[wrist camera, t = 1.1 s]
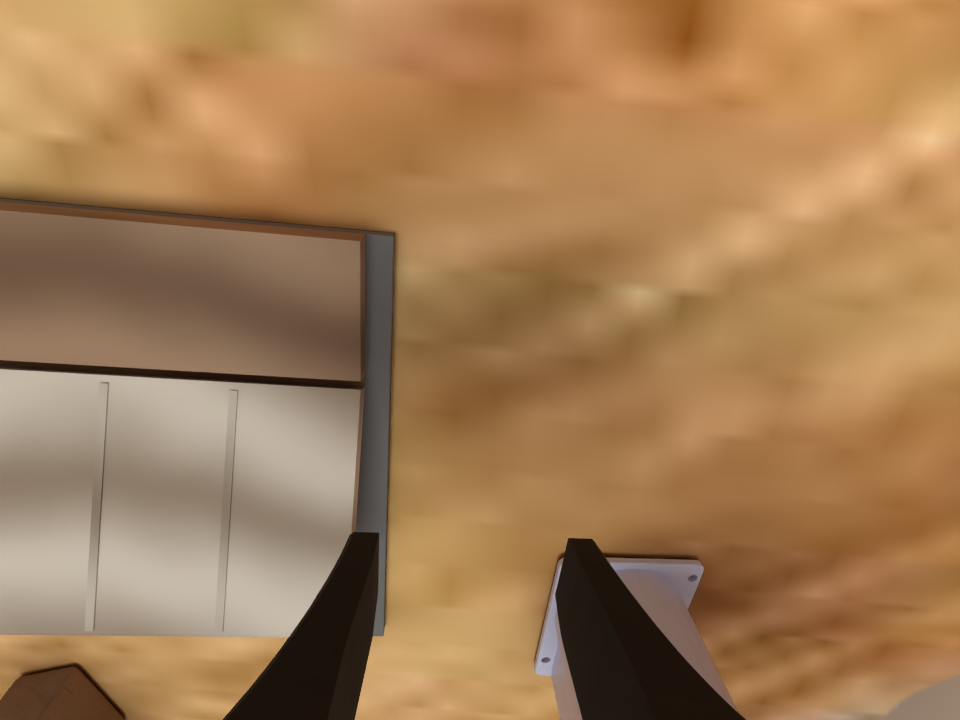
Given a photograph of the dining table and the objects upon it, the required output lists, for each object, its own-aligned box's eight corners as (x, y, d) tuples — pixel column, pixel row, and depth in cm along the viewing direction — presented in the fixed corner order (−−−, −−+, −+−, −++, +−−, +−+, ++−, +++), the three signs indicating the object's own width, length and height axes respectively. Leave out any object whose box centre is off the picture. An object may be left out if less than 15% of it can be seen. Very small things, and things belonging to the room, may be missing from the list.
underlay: (384, 626, 28) (383, 636, 27) (80, 622, 26) (73, 633, 26) (394, 233, 18) (393, 236, 18) (-78, 191, 17) (-95, 193, 16)
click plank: (349, 621, 20) (344, 638, 19) (-19, 616, 19) (-51, 635, 18) (364, 387, 20) (360, 389, 19) (-5, 366, 19) (-36, 366, 18)
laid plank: (365, 382, 20) (360, 397, 19) (-4, 360, 19) (-30, 375, 18) (365, 233, 18) (359, 241, 17) (-62, 196, 16) (-98, 201, 15)
